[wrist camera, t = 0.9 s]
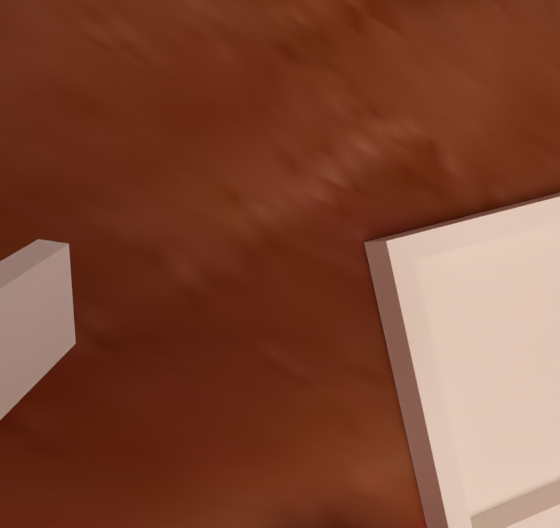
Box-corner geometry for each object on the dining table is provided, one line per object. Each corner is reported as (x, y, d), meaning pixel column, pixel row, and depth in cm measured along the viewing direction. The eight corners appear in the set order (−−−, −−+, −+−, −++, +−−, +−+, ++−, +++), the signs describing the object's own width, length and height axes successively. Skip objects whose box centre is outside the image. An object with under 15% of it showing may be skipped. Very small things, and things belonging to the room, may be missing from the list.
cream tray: (363, 242, 32) (386, 240, 29) (619, 177, 37) (659, 170, 34) (431, 546, 34) (458, 574, 31) (667, 445, 38) (710, 460, 36)
